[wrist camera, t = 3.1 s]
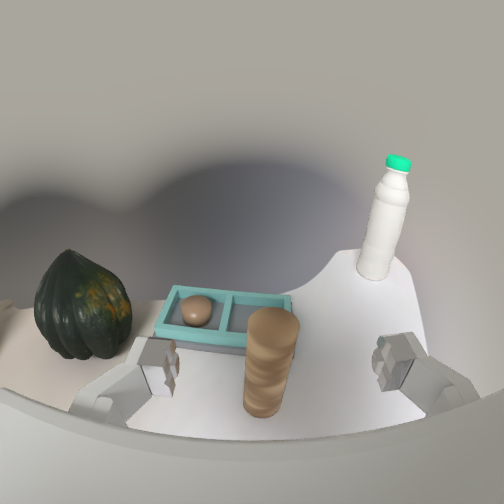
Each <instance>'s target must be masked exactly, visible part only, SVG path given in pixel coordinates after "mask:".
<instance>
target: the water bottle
mask: <svg viewBox="0 0 504 504" xmlns="http://www.w3.org/2000/svg"><path fill="white" fill-rule="evenodd" d="M386 168H387V173H386V174H385V175H384V176H383V177H382V179H381V181H380V182H379V183H378V185H377V186H376V188H375V191H374V194H375V197H374V200H373V203H372V207H371V211H370V215H369V219H368V224H367V229H366V235H365V239H364V241H363V245H362V249H361V254H360V257H359V259H358V263H357V271H358V272H359V274H360V275H361V276H363V277H364V278H366V279H369V280H372V281H380V280H383V279H385V278H386V277H387V275H388V272H389V269H390V264H391V261H392V259H393V256H394V252H395V247H396V244H397V242H398V239H399V236H400V233H401V230H402V226H403V222H404V218H405V213H406V207H407V204H408V203H409V198H410V196H409V191H408V184H407V181H406V175H407V174H408V172H409V171H410V168H411V161H410V160H409V159H407V158H405V157H402V156H398V155H393V154H390V155H388V156H387V159H386Z"/></svg>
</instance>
